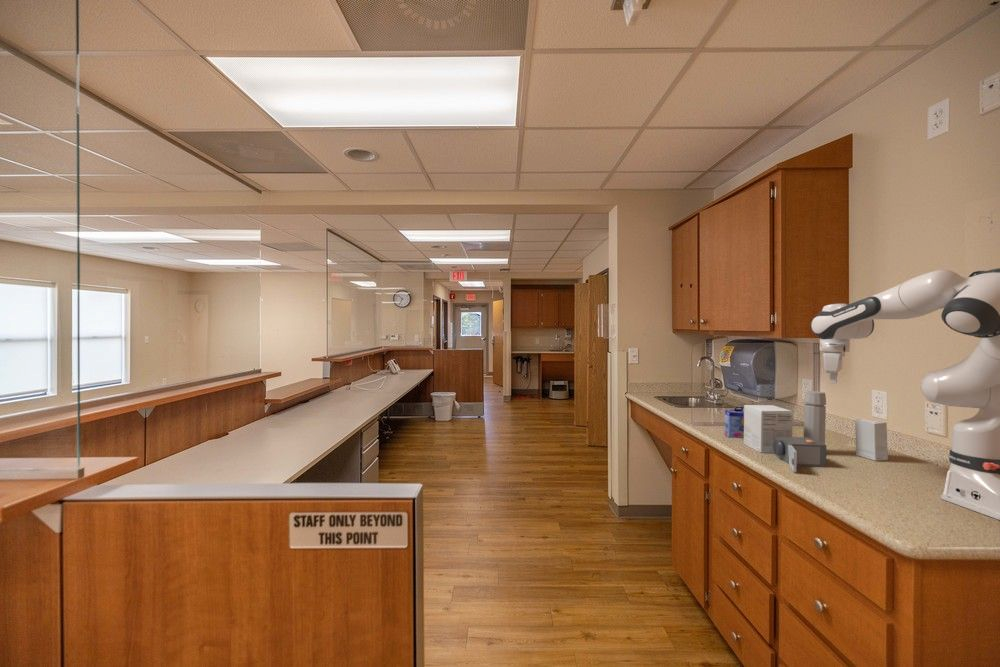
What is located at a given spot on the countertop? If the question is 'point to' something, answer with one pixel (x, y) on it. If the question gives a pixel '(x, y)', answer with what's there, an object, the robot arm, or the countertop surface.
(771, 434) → the supplement box
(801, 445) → the camera housing
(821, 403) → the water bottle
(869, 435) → the skincare box
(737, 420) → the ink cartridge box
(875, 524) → the countertop surface
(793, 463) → the side door
